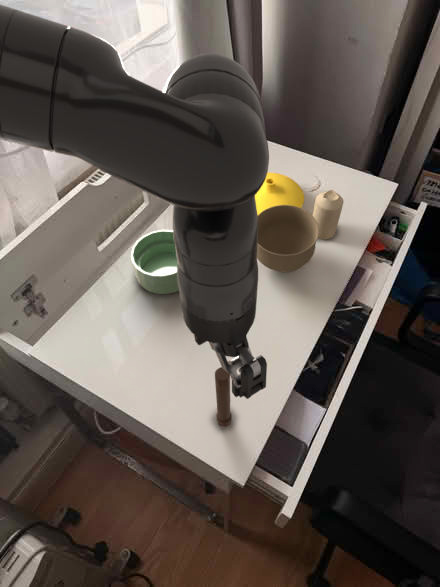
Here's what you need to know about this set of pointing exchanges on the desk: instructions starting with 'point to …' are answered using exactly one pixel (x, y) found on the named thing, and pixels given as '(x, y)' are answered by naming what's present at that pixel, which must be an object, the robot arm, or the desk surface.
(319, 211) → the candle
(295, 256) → the bowl
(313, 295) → the desk surface
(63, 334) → the desk surface
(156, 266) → the mixing bowl
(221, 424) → the stirring stick
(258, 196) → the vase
